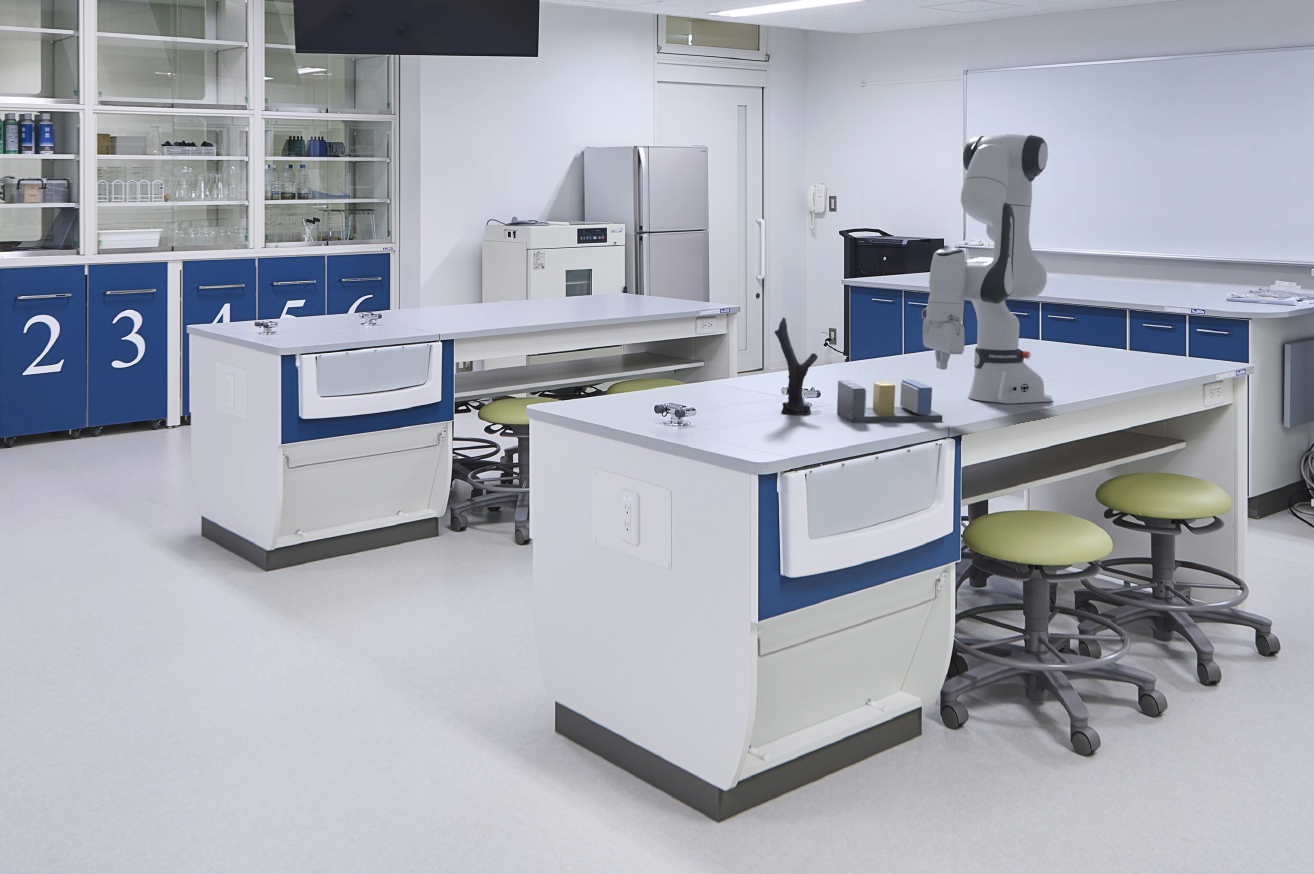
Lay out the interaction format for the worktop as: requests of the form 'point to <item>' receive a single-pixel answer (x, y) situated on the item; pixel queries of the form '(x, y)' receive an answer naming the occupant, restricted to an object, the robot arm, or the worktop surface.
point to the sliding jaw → (916, 397)
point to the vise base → (855, 409)
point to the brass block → (883, 397)
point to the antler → (794, 374)
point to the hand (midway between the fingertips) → (941, 368)
